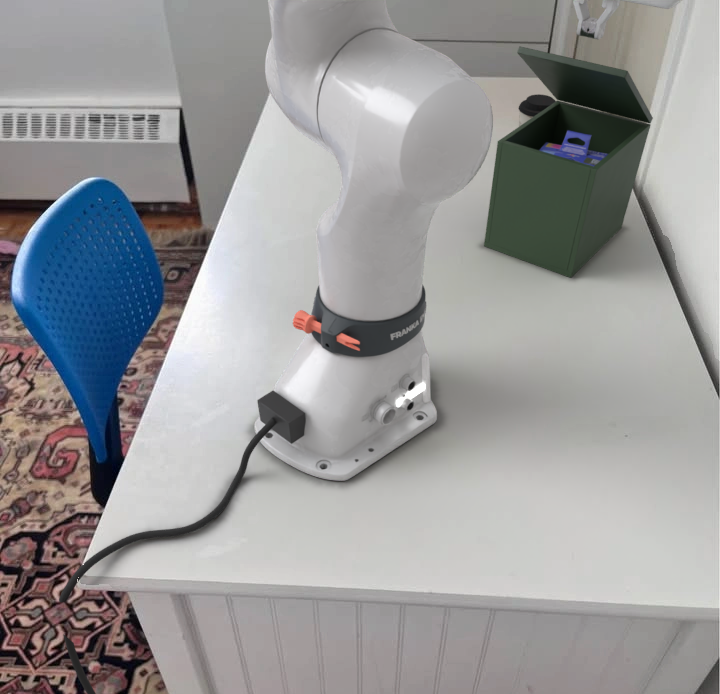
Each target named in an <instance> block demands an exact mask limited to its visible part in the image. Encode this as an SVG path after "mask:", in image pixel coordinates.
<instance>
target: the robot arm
mask: <svg viewBox="0 0 720 694" xmlns="http://www.w3.org/2000/svg"><path fill="white" fill-rule="evenodd" d="M589 1H590V0H572V4H573V7H574V11H575V14H576V18H577V20H578V22H577V28H576V36H579V37H585V38H589V39H594V40H597V41H598V40H600V39H602V38H603V37H604V36H605V35H604V34H605V30H606V27H607V21H609V20H610V18H611V17H612V16H613V14H614V13H615V12H616V11H617V9H618V8H619V7H620V6H621V5H620V4H621V2H626V3H632V4H636V5H643V6H649V7H652V8H653V7H654V8H658V9H659V8H660V9H665V10H671V9H672V8H674V7H676V6H677V5H679V4H680V3H681V2H682V1H683V0H602V2H601V8H602V9H604V11H603V12H602V13H601V15H600V16H599V17H597V18H596V17H593V16H591V15H590V14H591V13H590V10H589V4H588V2H589ZM267 4H268V14H269V22H270V32H271V38H270V39H269V44H268V46H267V50H266V54H265V61H264V72H265V73H264V75H265V80H266V85H267V89H268V91H269V93H270V95H271V97H272V99H273V100H274V102H275V103H276V105H277V107H278V108H279V109H280V110H281V112H282V113H283V115H284V116H285V117H286V118H287V119H288V121H289V122H290V123H291V124H292V126H293V127H294V128H295V129H296V130H297V131H298V132H299V133H300V134H302V135H303V136H305V137H306V138H308V139H309V140H310V141H312V142H313V143H315V144H316V145H318V146H319V147H321V148H322V149H324V150H326V152H328V153H330V154H331V155H333V156H334V158H335V160H336V163H337V165H338V168H339V171H340V190H339V195H338V199H337V200H336V201H334V202H333V203H332V204H331V205H330V206H328V207H327V208H326V209H325V211H323V213H322V214H321V216H320V217H319V219H318V222H317V225H316V230H315V236H316V237H315V238H316V255H317V272H318V273H317V274H318V286H317V288H316V293H315V296H314V298H313V304H312V311H311V314H309V313H308V312H306V311H305V310H303V309H300V310H298V311H297V312H296V313H295V314H294V315H293V317H294V318H293V319H292V326H293V328H295V329H297V330H300V331H303V332H304V333H305V336H304V337H303V338H302V340H301V341H300V343H299V345H298V347H297V348H296V349H295V351H294V353H293V355H292V356H291V358H290V359H289V362H288V363H287V364H286V366H285V368H284V369H283V371H282V373H281V374H280V376H279V378H278V379H277V381H276V383H275V385H274V389H273V390H271V391H269V392H268V393H266V394H265V395H263V396H261V397H260V398H258V399H257V407H258V414H259V416H258V417H257V418H256V420H255V421H254V426H253V428H254V433H255V435H254V437H252V439H251V440H250V442H249V443H248V445H247V446H246V447H245V448H244V452H243V454H242V456H241V460H240V463H239V466H238V467H239V468H238V470H237V472H236V474H235V476H234V478H233V479H232V482H231V483H230V485H229V487H228V489H227V491H226V493H225V495H224V496H223V497H222V499H221V501H220V502H219V504H217V506H216V507H215V508H214V509H212V510H211V512H209V513H208V514H207V515H205V516H204V517H202V518H201V519H199V520H197V521H196V522H193V523H191V524H188V525H185V526H181V527H176V528H168V529H155V530H148V531H141V532H137V533H134V534H130V535H129V536H125V537H123V538H121V539H119V540H117V541H115V542H113V543H112V544H110V545H108V546H106V547H105V548H103V549H101V550H99V551H97V553H94V554H93V555H92V556H91V557H90V558H88V559H87V560H86V561H84V562H83V564H84V565H83V564H81V565H80V566H79V568H78V569H76V571H75V572H74V573H73V574H72V576H71V577H70V579H69V580H68V581H67V583H66V585H65V586H64V588H63V590H62V591H61V594H60V596H59V599H58V602H59V603H65V602H66V601H67V600H68V599H69V598H70V596H71V594H72V592H73V591H74V589H75V588H76V585H77V584H78V583H79V581H80V580H81V579H82V578H83V576H84V575H85V574H86V573H87V572H88V571H89V570H90V569H91V568H93V567H94V566H95V565H96V564H97V563H99V562H100V561H102V560H103V559H104V558H106V557H108V556H109V555H111V554H113V553H114V552H116V551H118V550H120V549H122V548H124V547H127V546H128V545H130V544H133V543H136V542H139V541H143V540H149V539H150V540H151V539H157V538H169V537H177V536H178V537H179V536H182V535H183V536H184V535H187V534H190V533H193V532H196V531H198V530H200V529H201V528H204V527H205V526H206V525H208V524H209V523H211V522H212V521H214V520H215V519H216V518H218V517H219V515H220V514H221V513H223V511H224V510H225V509H226V507H228V504H229V503H230V501H231V499H232V497H233V496H234V494H235V492H236V491H237V489H238V487H239V485H240V483H241V481H242V479H243V477H244V476H245V473H246V471H247V468H248V464H249V462H250V461H249V460H250V458H251V455H252V454H253V452H254V450H255V448H256V447H257V445H258V444H259V443H261V445H262V446H263V447H264V448H265V449H266V450H267V451H268V452H269V453H271V454H272V455H273V456H274V457H276V458H277V459H279V460H280V461H282V462H284V463H285V464H287V465H289V466H290V467H292V468H294V469H296V470H298V471H300V472H303V473H305V474H307V475H310V476H313V477H316V478H319V479H323V480H329V481H336V482H337V481H340V482H344V481H345V482H346V481H348V480H350V479H351V478H353V477H355V476H356V475H358V474H359V473H361V472H362V471H364V470H366V469H367V468H368V467H370V466H372V465H373V464H374V463H376V462H377V461H379V460H381V459H382V458H384V457H385V456H387V455H388V454H390V453H391V452H393V451H395V450H396V449H397V448H399V447H400V446H402V445H404V444H405V443H406V442H408V441H410V440H411V439H413V438H414V437H416V436H417V435H419V434H420V433H422V432H424V431H425V430H426V429H428V428H429V427H431V426H432V425H434V424H435V423H436V422H437V421H438V412H437V408H436V406H435V404H434V402H433V401H432V398H431V368H430V367H431V365H430V356H429V352H428V350H427V345H426V342H425V339H424V335H423V327H424V325H425V317H426V313H427V301H426V300H427V299H426V297H427V296H426V294H427V293H426V289H425V286H424V284H423V283H424V269H425V259H426V249H427V240H428V233H429V229H430V225H431V222H432V221H433V217H434V216H435V215H434V214H435V213H436V211H437V209H438V207H439V205H441V203H442V202H443V201H446V200H448V199H450V198H453V197H454V196H455V195H457V194H458V193H459V192H461V191H462V190H463V189H464V188H466V187H467V186H468V185H469V184H470V183H471V182H472V181H473V179H474V178H475V177H476V175H477V174H478V172H479V171H480V169H481V168H482V166H483V164H484V162H485V160H486V157H487V156H488V153H489V149H490V147H491V143H492V138H493V137H492V136H493V129H494V116H493V115H494V114H493V108H492V105H491V104H492V103H491V102H490V101H491V100H490V99H489V97H488V95H487V92H486V91H485V90H484V89H483V88H482V87H481V85H479V84H478V83H477V82H476V81H475V80H474V79H473V78H472V76H470V75H469V74H468V72H466V71H465V70H464V69H462V68H461V67H460V65H458V64H457V63H456V62H455V61H454V60H453V59H452V58H450V57H449V56H447V55H446V54H444V53H442V52H440V51H438V50H436V49H433V48H431V47H430V46H427V45H425V44H423V43H420V42H418V41H416V40H414V39H412V38H409V37H408V36H405V35H404V34H401V33H400V32H399V31H398V29H397V28H396V27H395V25H394V23H393V21H392V19H391V16H390V14H389V11H388V6H387V0H267ZM78 577H79V578H78ZM77 579H78V582H77ZM62 635H63V639H64V643H65V646H66V651H67V653H68V657H69V658H70V661H71V664H72V667H73V669H74V672H75V673H76V676H77V678H78V680H79V682H80V684H81V685H82V688H83V689H84V691H85V692H86V694H97V693H96V691H95V690H94V687H93V686H92V684H91V683H90V681H89V678H88V677H87V674H86V673H85V671H84V669H83V666H82V664H81V661H80V658H79V656H78V653H77V650H76V646H75V643H74V641H72V640H71V639H70V638H69V637H68V636H66V635H65V634H64V633H63V634H62Z"/></svg>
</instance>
